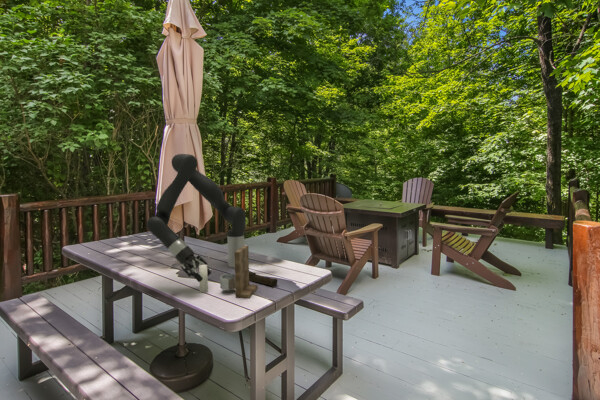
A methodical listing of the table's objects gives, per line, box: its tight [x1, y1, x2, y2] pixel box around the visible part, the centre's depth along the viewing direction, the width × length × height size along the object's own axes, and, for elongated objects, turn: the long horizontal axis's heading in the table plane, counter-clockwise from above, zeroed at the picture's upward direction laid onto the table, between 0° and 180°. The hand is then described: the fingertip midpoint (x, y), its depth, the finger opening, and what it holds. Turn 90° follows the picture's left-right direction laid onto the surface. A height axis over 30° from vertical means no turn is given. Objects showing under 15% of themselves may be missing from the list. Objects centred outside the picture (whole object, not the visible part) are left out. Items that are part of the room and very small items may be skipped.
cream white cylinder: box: [198, 264, 209, 294], centre depth 152 cm, size 4×4×12 cm
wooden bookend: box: [234, 245, 259, 299], centre depth 150 cm, size 12×6×20 cm, turn 169°
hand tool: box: [249, 271, 278, 289], centre depth 164 cm, size 19×4×5 cm, turn 54°
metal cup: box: [219, 273, 235, 291], centre depth 152 cm, size 7×9×5 cm
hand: (205, 277), depth 152 cm, fingers open, 8 cm apart
